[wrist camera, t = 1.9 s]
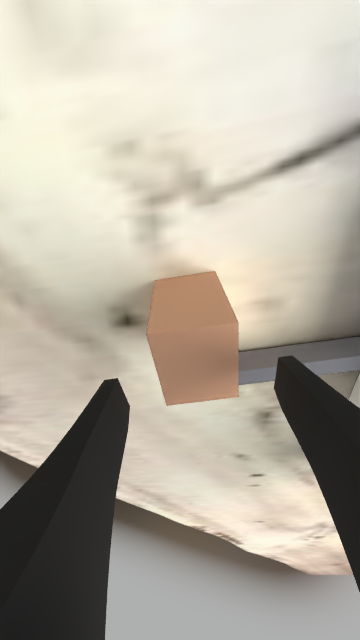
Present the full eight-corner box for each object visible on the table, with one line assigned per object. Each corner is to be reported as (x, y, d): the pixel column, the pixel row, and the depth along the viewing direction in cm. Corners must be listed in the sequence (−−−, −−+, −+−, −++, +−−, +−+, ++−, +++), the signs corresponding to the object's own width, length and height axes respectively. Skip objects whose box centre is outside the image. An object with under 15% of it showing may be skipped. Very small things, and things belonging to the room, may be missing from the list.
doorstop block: (218, 332, 17) (238, 397, 12) (167, 339, 17) (166, 405, 12) (214, 271, 15) (238, 322, 10) (154, 280, 15) (146, 334, 10)
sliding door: (386, 346, 18) (435, 385, 15) (221, 367, 19) (232, 409, 16) (450, 213, 13) (550, 227, 9) (214, 249, 13) (229, 275, 10)
